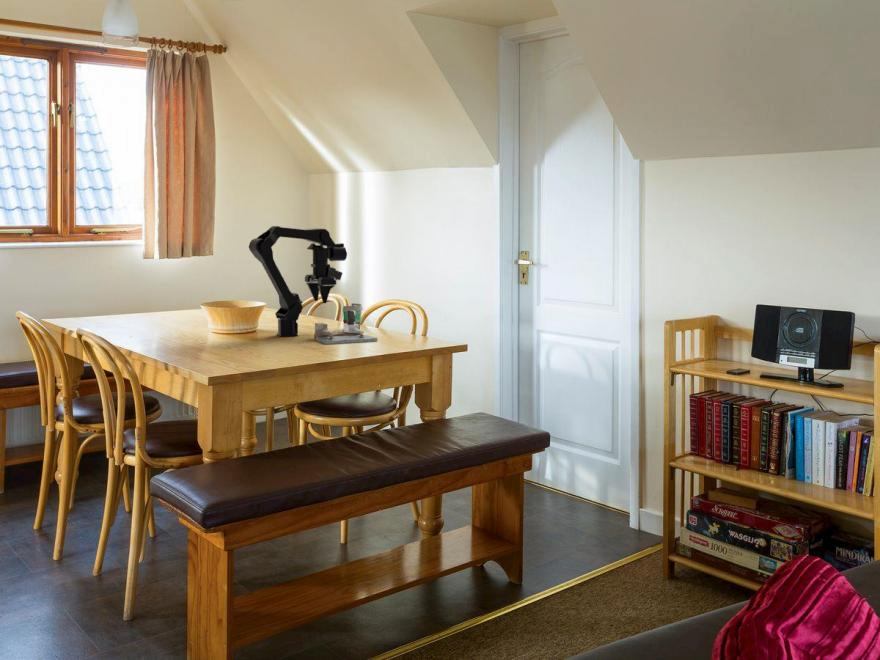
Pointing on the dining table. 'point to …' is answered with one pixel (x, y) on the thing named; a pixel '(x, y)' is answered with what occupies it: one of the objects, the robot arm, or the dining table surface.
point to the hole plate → (346, 339)
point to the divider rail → (322, 331)
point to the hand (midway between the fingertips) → (320, 302)
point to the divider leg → (352, 324)
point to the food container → (357, 309)
